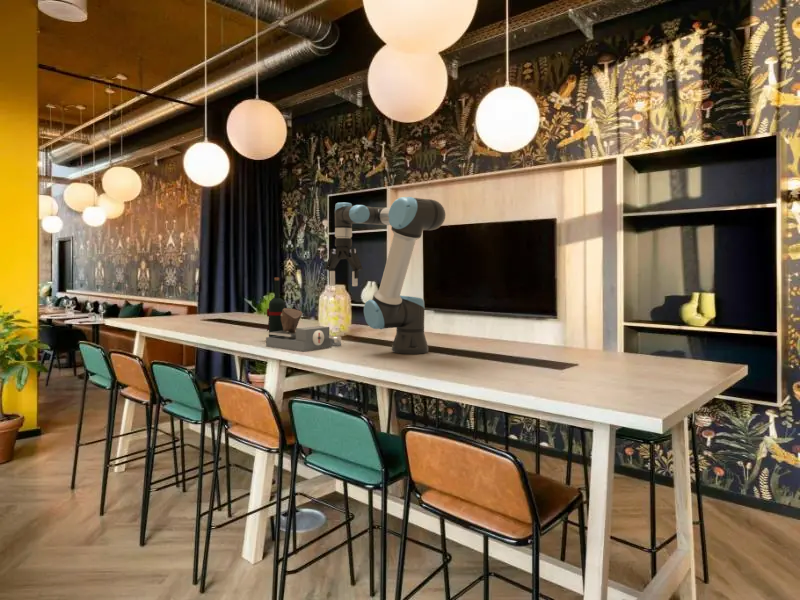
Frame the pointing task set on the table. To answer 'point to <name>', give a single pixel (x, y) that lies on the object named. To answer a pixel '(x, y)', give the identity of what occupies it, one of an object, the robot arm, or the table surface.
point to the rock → (290, 319)
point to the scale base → (302, 339)
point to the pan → (283, 333)
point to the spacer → (335, 341)
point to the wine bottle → (275, 311)
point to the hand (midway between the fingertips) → (343, 285)
